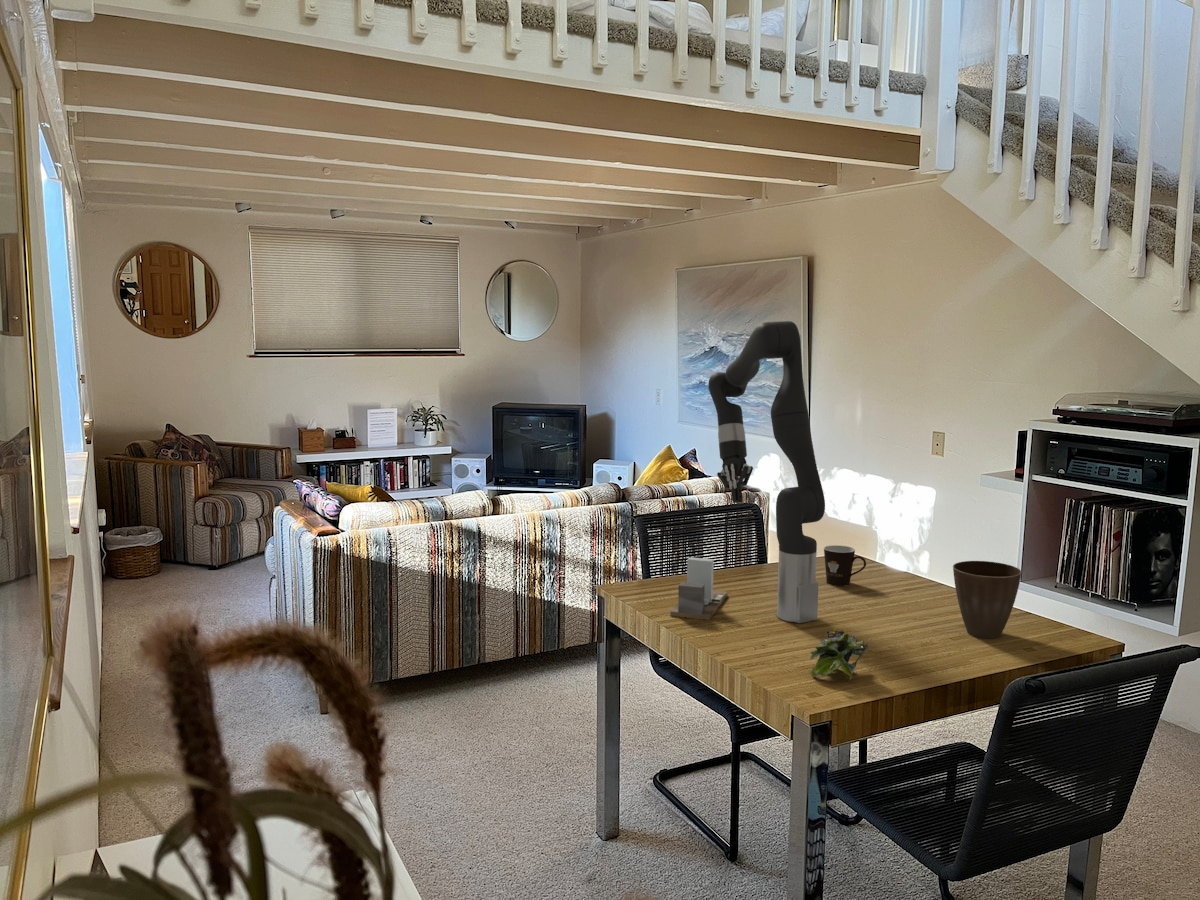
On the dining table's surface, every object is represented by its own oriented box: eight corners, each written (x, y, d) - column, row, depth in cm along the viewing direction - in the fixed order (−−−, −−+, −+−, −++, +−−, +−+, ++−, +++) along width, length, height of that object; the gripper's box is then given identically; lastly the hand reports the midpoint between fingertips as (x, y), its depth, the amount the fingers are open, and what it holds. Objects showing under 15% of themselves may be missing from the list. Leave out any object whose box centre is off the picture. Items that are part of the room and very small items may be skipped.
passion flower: (832, 693, 196) (856, 643, 198) (862, 703, 186) (887, 650, 188) (792, 667, 193) (817, 617, 196) (820, 676, 183) (846, 623, 186)
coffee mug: (816, 580, 263) (817, 547, 262) (840, 577, 267) (841, 544, 265) (843, 591, 253) (844, 556, 251) (867, 587, 256) (868, 552, 255)
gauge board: (691, 592, 251) (691, 563, 250) (727, 596, 248) (727, 566, 247) (670, 616, 231) (670, 584, 230) (709, 620, 227) (709, 588, 226)
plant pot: (977, 646, 209) (980, 578, 206) (936, 626, 223) (939, 562, 221) (1031, 641, 212) (1036, 574, 210) (988, 621, 227) (992, 558, 225)
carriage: (689, 597, 241) (689, 556, 240) (721, 600, 239) (721, 559, 237) (681, 606, 234) (682, 564, 232) (714, 609, 231) (715, 567, 230)
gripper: (706, 445, 260) (711, 505, 257) (737, 436, 249) (743, 499, 246) (726, 446, 264) (731, 505, 261) (758, 437, 253) (763, 499, 250)
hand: (737, 502), depth 254 cm, fingers closed
